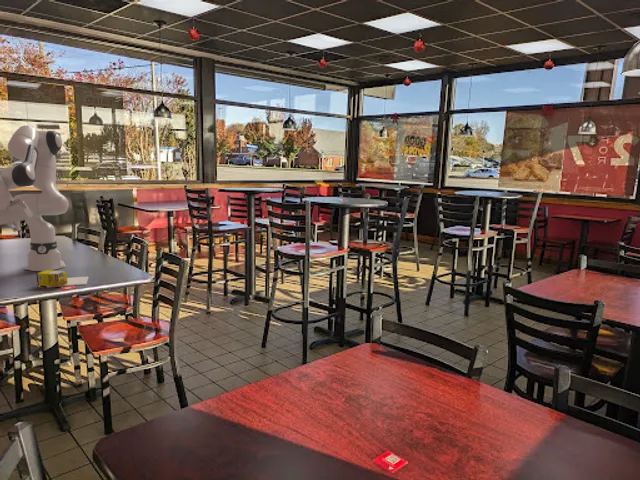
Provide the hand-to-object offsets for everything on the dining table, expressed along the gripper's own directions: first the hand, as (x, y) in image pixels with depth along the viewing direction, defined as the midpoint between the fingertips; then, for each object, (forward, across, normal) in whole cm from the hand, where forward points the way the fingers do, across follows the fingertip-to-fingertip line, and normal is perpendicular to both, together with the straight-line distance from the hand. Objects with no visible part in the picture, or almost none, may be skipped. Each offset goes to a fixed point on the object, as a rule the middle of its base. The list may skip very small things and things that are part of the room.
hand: (17, 230), depth 213 cm
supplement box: (+22, -5, +6) cm, 23 cm away
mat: (+29, -12, +1) cm, 31 cm away
